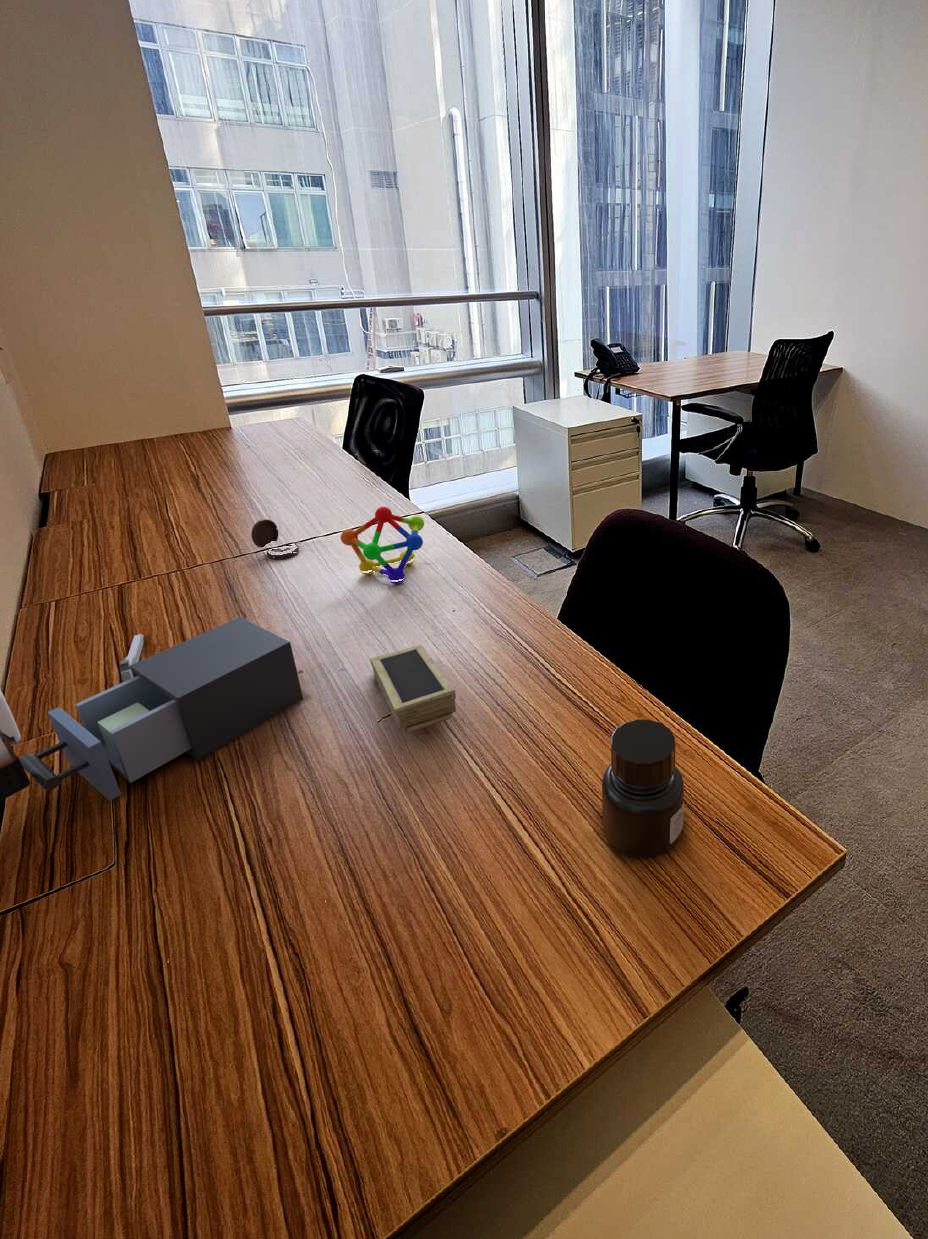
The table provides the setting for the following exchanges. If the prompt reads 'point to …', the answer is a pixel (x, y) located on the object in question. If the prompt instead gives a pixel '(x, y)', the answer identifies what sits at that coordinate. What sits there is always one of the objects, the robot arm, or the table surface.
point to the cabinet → (225, 681)
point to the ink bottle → (642, 790)
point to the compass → (269, 537)
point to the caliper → (131, 657)
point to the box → (414, 688)
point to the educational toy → (374, 551)
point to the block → (119, 723)
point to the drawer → (114, 738)
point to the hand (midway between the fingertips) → (10, 791)
